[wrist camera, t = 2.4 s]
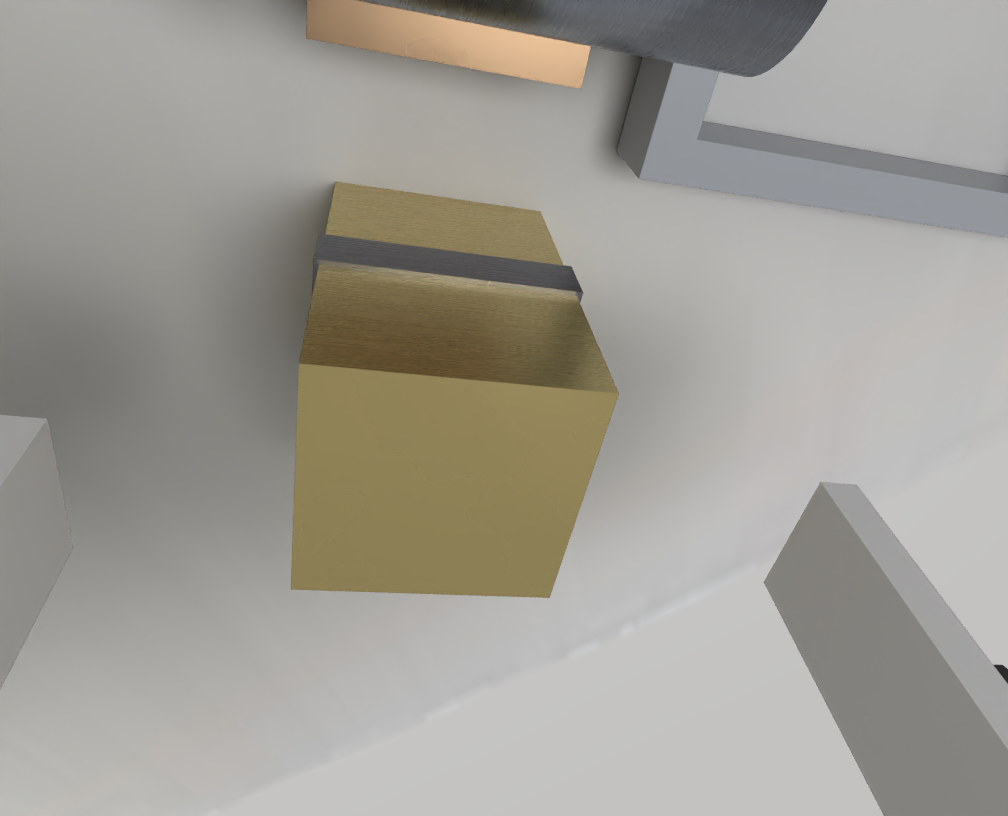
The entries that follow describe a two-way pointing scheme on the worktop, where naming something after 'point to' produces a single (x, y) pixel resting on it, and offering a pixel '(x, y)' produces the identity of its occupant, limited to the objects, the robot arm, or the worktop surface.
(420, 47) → the shaft
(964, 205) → the cradle
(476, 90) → the worktop surface
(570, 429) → the gold rectangular block
